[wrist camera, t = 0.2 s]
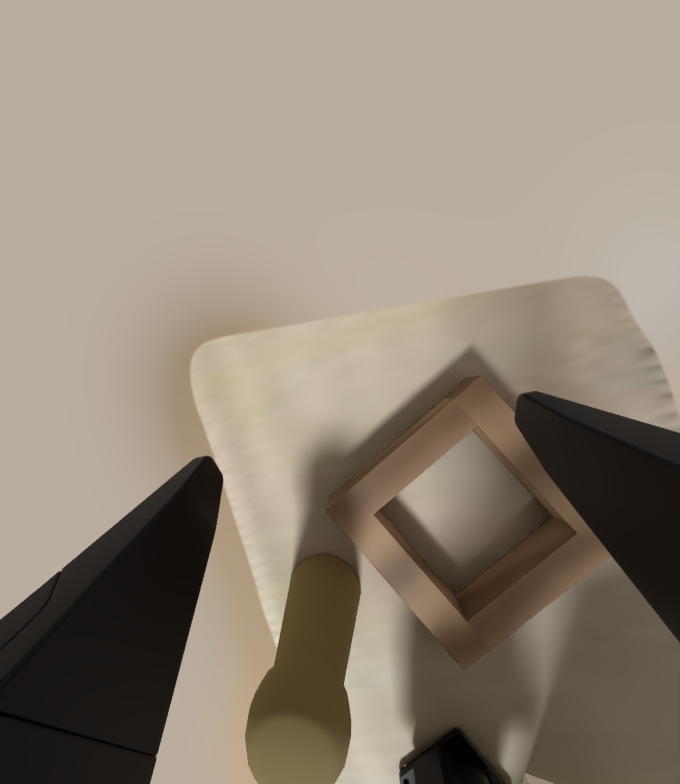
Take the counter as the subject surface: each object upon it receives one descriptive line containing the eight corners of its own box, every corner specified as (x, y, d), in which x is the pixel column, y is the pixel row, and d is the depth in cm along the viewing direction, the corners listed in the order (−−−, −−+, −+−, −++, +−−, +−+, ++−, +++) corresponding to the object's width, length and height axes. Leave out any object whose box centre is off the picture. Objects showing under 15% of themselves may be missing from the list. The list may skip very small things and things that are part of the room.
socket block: (600, 520, 21) (632, 538, 19) (452, 639, 22) (464, 670, 20) (467, 377, 22) (480, 375, 19) (329, 497, 23) (325, 510, 20)
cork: (331, 640, 23) (302, 868, 12) (275, 593, 23) (198, 772, 12) (375, 586, 23) (387, 769, 12) (318, 538, 23) (278, 673, 12)
